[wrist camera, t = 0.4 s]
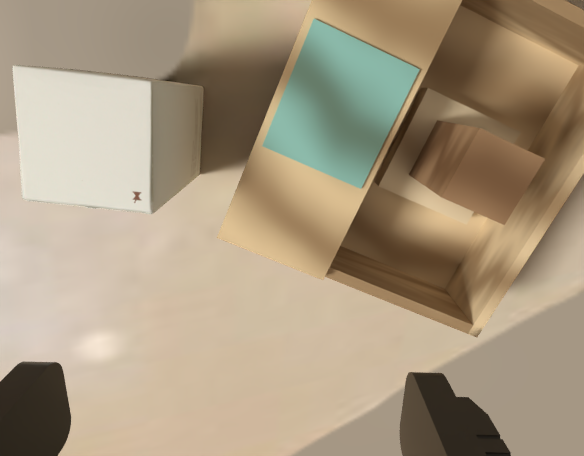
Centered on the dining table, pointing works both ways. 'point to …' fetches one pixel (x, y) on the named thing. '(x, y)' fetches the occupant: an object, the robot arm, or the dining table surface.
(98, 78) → the supplement box
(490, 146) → the block
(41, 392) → the robot arm
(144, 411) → the dining table surface
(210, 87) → the dining table surface
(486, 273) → the crate
